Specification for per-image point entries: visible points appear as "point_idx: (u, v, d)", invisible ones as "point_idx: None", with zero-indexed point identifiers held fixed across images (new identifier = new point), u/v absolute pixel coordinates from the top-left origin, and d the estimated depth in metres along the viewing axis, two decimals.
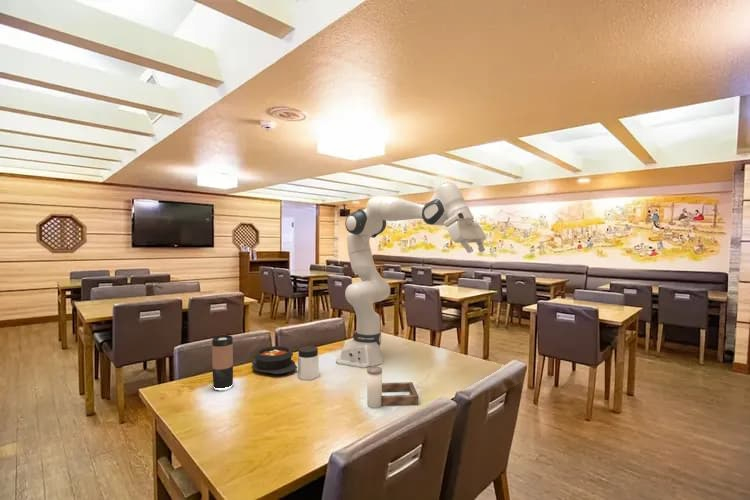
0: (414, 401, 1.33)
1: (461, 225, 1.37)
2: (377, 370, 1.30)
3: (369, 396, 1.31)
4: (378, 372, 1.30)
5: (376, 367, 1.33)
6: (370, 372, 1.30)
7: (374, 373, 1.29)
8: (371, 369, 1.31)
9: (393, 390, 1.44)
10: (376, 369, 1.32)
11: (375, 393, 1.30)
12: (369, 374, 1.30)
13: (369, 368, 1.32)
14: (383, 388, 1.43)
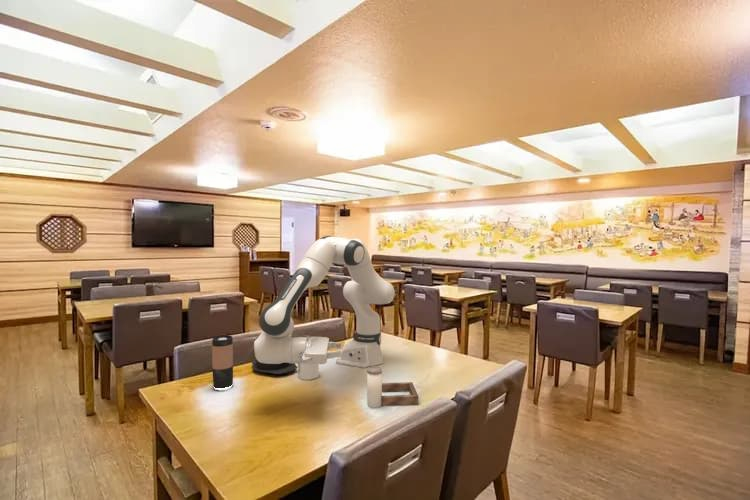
0: (414, 401, 1.33)
1: None
2: (377, 370, 1.30)
3: (369, 396, 1.31)
4: (378, 372, 1.30)
5: (376, 367, 1.33)
6: (370, 372, 1.30)
7: (374, 373, 1.29)
8: (371, 369, 1.31)
9: (393, 390, 1.44)
10: (376, 369, 1.32)
11: (375, 393, 1.30)
12: (369, 374, 1.30)
13: (369, 368, 1.32)
14: (383, 388, 1.43)
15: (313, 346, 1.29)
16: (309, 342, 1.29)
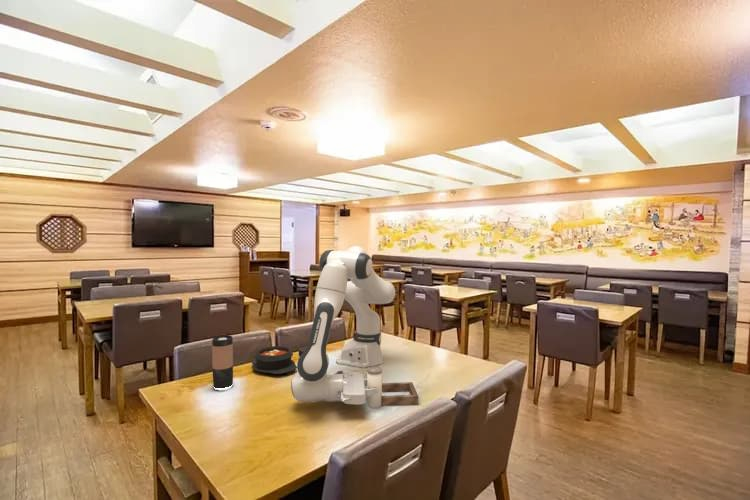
0: (414, 401, 1.33)
1: None
2: (377, 370, 1.30)
3: (369, 396, 1.31)
4: (378, 372, 1.30)
5: (376, 367, 1.33)
6: (370, 372, 1.30)
7: (374, 373, 1.29)
8: (371, 369, 1.31)
9: (393, 390, 1.44)
10: (376, 369, 1.32)
11: None
12: (369, 374, 1.30)
13: (369, 368, 1.32)
14: (383, 388, 1.43)
15: (350, 384, 1.31)
16: (346, 380, 1.31)
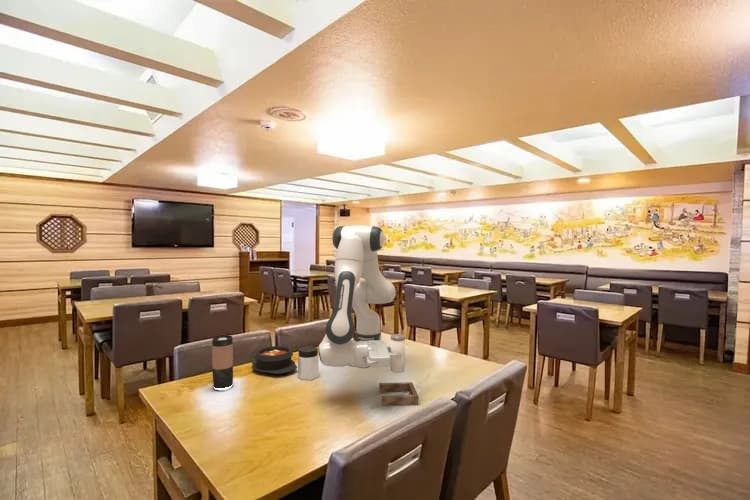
0: (414, 401, 1.33)
1: None
2: (400, 337, 1.36)
3: (392, 361, 1.36)
4: (401, 338, 1.36)
5: (399, 334, 1.39)
6: (394, 338, 1.36)
7: (398, 339, 1.35)
8: (395, 336, 1.37)
9: (393, 390, 1.44)
10: (400, 336, 1.37)
11: None
12: (393, 340, 1.36)
13: (392, 335, 1.38)
14: (383, 388, 1.43)
15: (374, 350, 1.36)
16: (370, 346, 1.36)
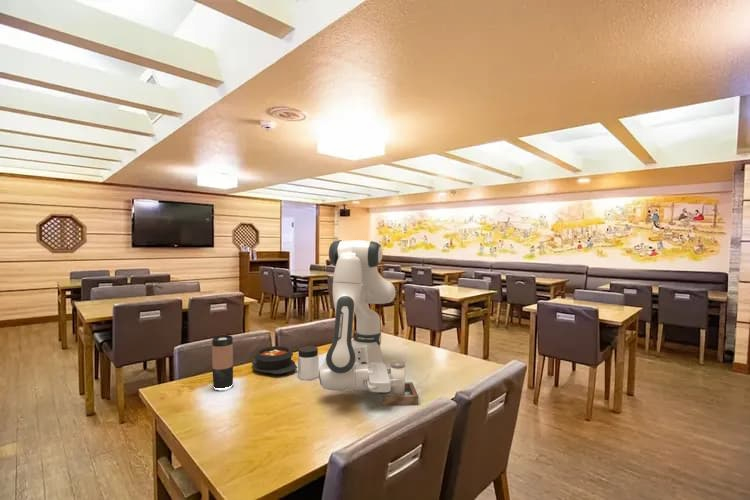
0: (414, 401, 1.33)
1: None
2: (400, 364, 1.37)
3: (393, 389, 1.37)
4: (401, 366, 1.36)
5: (399, 361, 1.40)
6: (394, 366, 1.36)
7: (398, 367, 1.36)
8: (395, 363, 1.37)
9: None
10: (399, 363, 1.38)
11: (399, 385, 1.36)
12: (393, 368, 1.36)
13: (392, 362, 1.38)
14: None
15: (374, 373, 1.37)
16: (371, 370, 1.37)
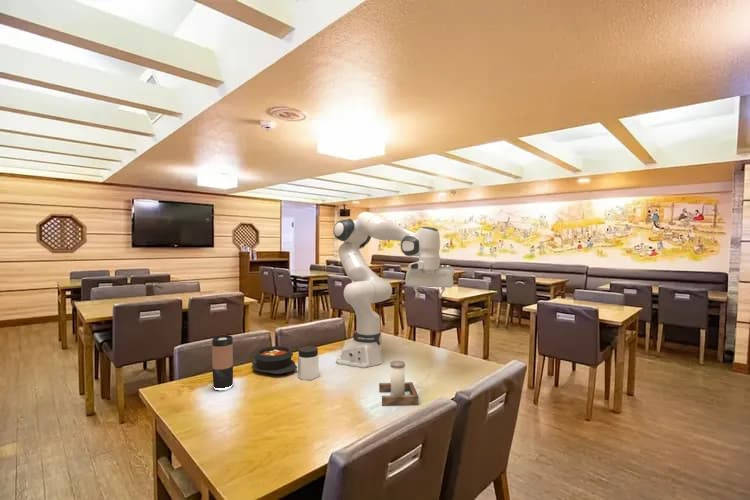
0: (414, 401, 1.33)
1: (415, 273, 1.58)
2: (400, 364, 1.37)
3: (393, 389, 1.37)
4: (401, 366, 1.36)
5: (399, 361, 1.40)
6: (394, 366, 1.36)
7: (397, 367, 1.36)
8: (394, 363, 1.38)
9: None
10: (399, 363, 1.38)
11: (399, 385, 1.36)
12: (393, 368, 1.36)
13: (392, 362, 1.39)
14: (383, 388, 1.43)
15: None
16: None
